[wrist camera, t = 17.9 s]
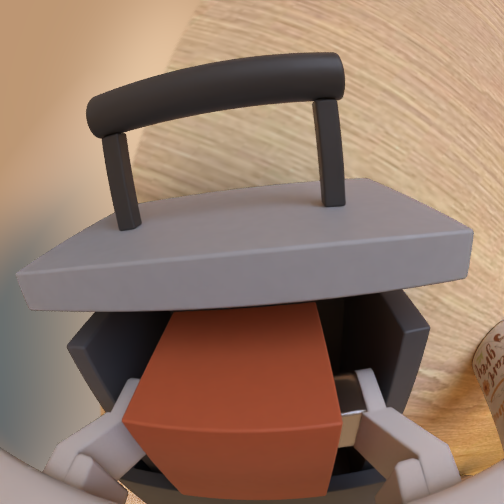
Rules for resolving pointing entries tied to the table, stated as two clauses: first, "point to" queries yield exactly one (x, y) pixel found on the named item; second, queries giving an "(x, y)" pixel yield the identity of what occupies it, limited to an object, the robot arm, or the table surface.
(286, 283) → the drawer
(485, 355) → the mug
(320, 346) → the block
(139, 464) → the cabinet
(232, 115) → the table surface
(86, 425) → the robot arm
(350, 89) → the table surface
